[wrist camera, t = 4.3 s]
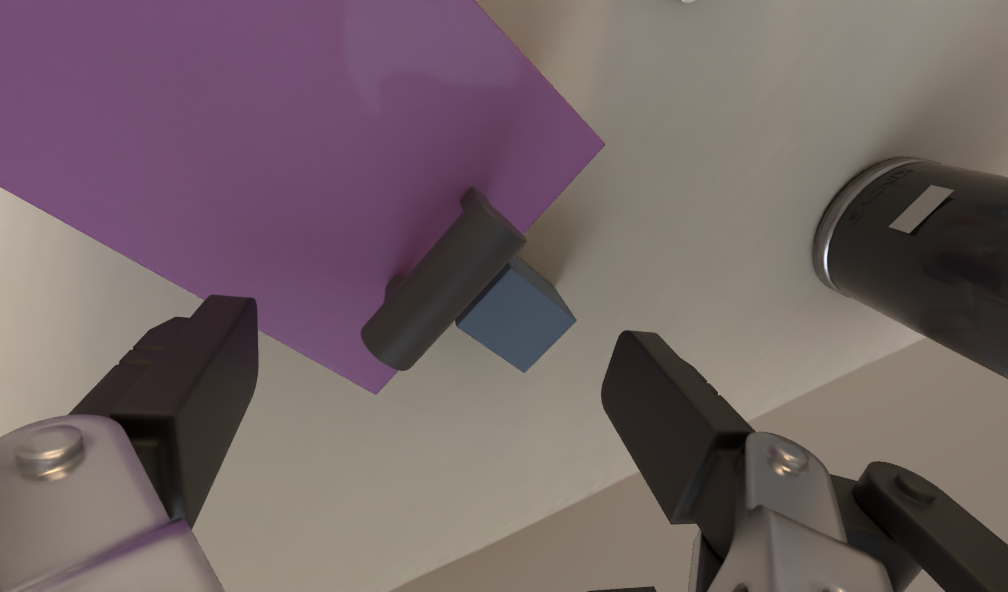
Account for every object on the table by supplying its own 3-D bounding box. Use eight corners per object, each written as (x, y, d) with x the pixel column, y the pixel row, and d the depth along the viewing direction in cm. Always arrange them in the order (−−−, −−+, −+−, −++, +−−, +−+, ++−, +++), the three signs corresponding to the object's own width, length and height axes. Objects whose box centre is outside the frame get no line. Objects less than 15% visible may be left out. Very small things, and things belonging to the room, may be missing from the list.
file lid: (597, 141, 16) (672, 170, 12) (377, 383, 19) (368, 484, 14) (82, -421, 9) (-222, -880, 5) (-153, 83, 12) (-494, 95, 8)
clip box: (555, 288, 29) (577, 320, 25) (509, 335, 30) (524, 373, 26) (496, 239, 27) (511, 267, 23) (449, 291, 28) (455, 326, 24)
